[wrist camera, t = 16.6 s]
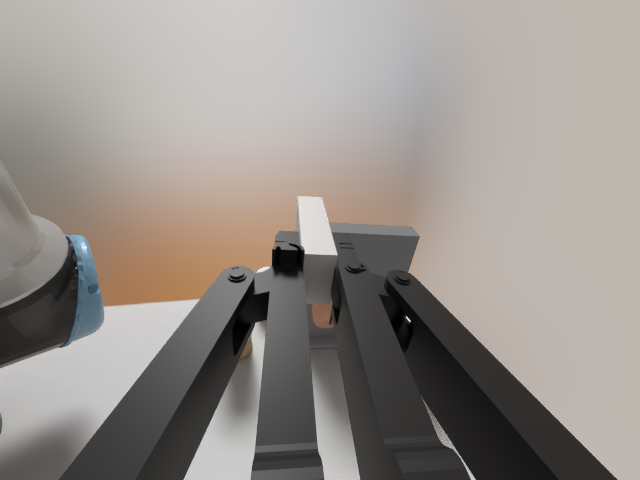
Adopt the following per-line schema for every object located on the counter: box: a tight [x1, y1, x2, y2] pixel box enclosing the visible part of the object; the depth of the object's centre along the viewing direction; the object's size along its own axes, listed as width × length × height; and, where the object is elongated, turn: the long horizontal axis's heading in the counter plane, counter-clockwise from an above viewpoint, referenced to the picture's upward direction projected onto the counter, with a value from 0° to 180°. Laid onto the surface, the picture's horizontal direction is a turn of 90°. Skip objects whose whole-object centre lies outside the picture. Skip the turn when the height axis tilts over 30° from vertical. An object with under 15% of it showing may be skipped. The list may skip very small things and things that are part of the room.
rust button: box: [312, 298, 334, 328], centre depth 45 cm, size 4×12×4 cm, turn 5°
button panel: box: [306, 223, 419, 348], centre depth 45 cm, size 17×7×22 cm, turn 95°
